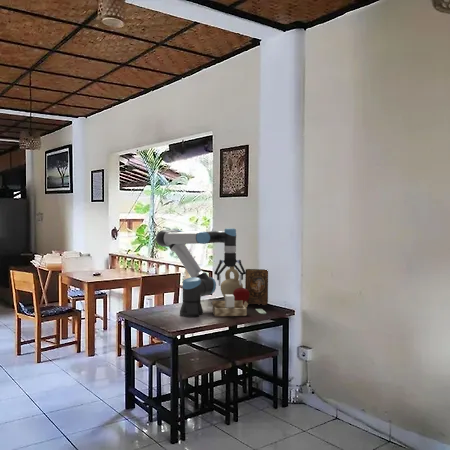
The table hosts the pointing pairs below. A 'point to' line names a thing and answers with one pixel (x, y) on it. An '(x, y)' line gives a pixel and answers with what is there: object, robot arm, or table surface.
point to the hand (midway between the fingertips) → (230, 285)
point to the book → (257, 286)
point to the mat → (261, 311)
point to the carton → (236, 311)
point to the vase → (230, 282)
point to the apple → (241, 294)
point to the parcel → (229, 301)
